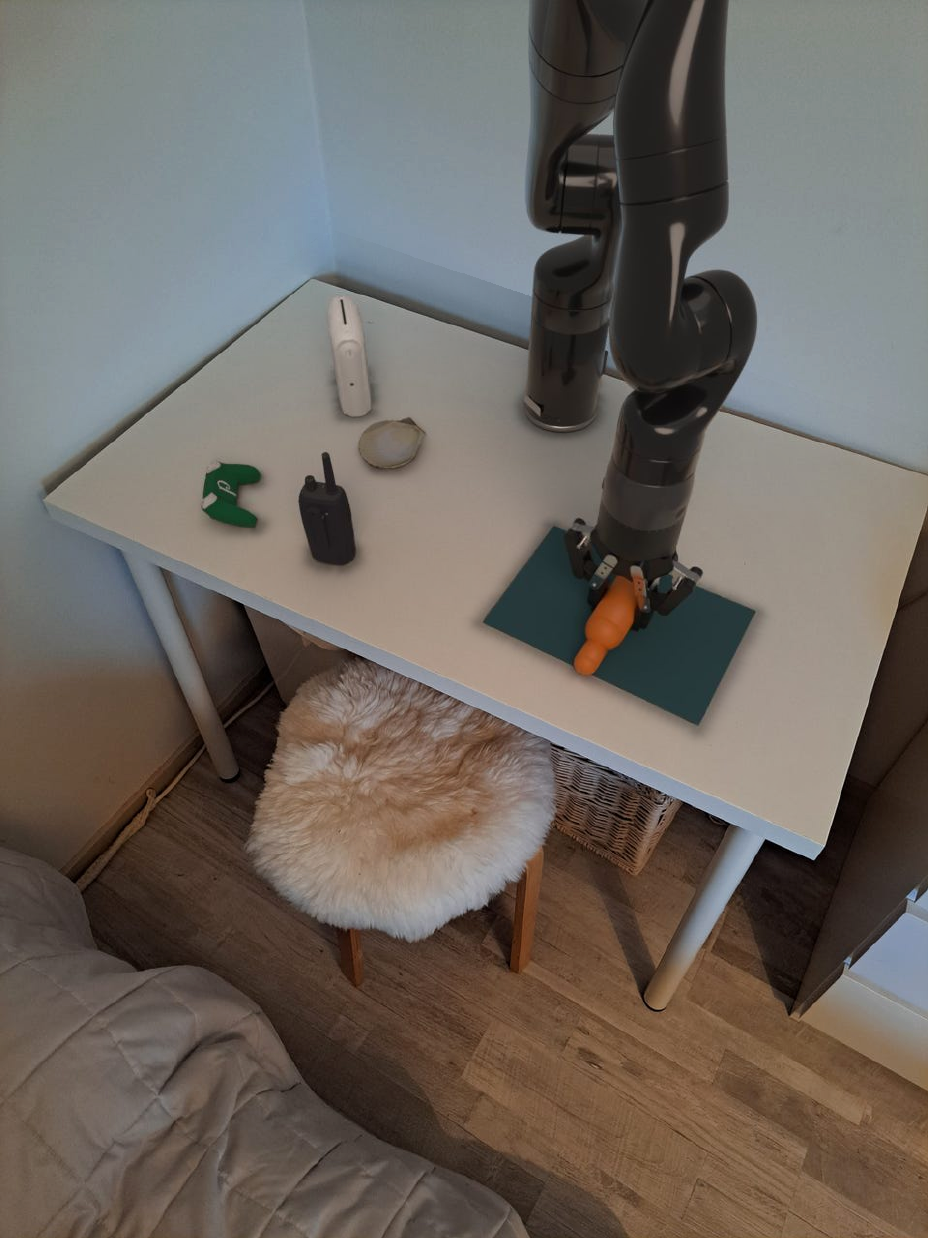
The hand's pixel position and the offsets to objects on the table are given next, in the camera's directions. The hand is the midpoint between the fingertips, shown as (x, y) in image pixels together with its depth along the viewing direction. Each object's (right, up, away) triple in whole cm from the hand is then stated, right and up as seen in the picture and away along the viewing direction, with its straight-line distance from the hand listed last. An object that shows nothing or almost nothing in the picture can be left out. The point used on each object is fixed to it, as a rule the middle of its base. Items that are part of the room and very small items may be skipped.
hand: (617, 615), depth 87 cm
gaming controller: (-43, +13, +12) cm, 47 cm away
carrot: (0, 0, +1) cm, 1 cm away
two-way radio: (-31, +6, +7) cm, 32 cm away
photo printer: (-31, +29, +24) cm, 49 cm away
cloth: (0, 0, +1) cm, 1 cm away
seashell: (-25, +20, +17) cm, 36 cm away
